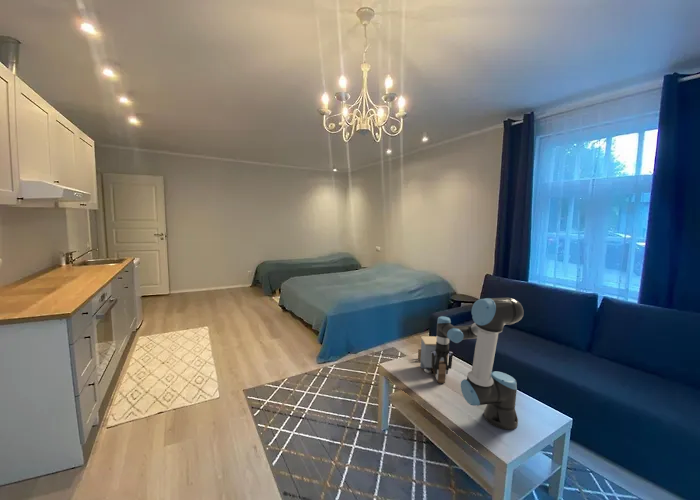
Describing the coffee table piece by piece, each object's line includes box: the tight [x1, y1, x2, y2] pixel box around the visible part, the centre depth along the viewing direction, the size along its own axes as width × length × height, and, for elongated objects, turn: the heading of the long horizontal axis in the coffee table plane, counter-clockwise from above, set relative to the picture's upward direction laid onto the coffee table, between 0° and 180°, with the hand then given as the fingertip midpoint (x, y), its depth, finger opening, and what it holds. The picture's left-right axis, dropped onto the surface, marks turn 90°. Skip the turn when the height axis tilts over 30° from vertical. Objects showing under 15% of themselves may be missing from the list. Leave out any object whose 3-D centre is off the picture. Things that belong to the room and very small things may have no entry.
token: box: [423, 368, 433, 374], centre depth 194 cm, size 5×5×2 cm
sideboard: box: [419, 335, 444, 369], centre depth 193 cm, size 13×14×21 cm
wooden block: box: [431, 361, 446, 384], centre depth 187 cm, size 17×4×12 cm, turn 0°
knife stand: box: [417, 348, 449, 363], centre depth 209 cm, size 4×20×7 cm, turn 90°
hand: (440, 378), depth 181 cm, fingers closed on wooden block, 4 cm apart
